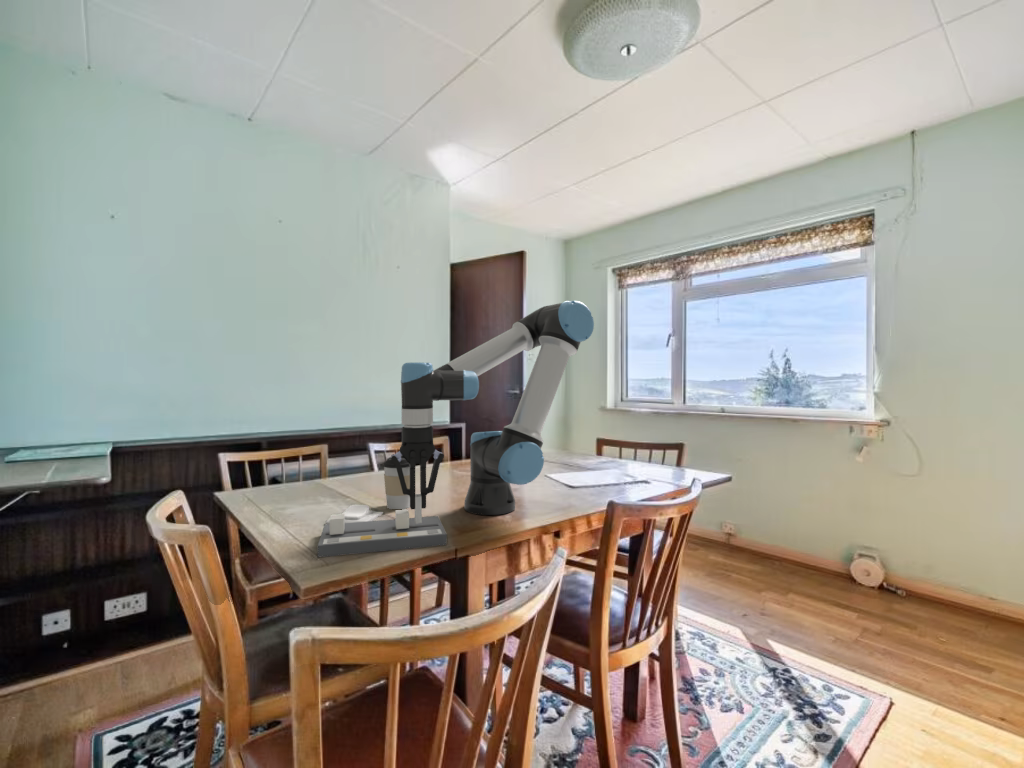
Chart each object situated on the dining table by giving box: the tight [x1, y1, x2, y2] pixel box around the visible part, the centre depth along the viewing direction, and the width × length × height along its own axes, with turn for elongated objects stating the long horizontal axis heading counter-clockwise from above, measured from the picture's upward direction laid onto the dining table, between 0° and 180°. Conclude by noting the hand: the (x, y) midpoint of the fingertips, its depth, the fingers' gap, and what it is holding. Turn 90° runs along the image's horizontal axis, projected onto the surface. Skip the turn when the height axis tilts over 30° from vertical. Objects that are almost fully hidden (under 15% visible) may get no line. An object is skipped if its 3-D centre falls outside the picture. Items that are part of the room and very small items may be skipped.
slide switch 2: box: [394, 508, 410, 529], centre depth 115 cm, size 3×4×4 cm
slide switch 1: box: [329, 513, 345, 535], centre depth 111 cm, size 3×4×4 cm
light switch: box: [325, 504, 384, 525], centre depth 130 cm, size 11×4×13 cm
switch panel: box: [317, 515, 448, 558], centre depth 114 cm, size 28×15×3 cm, turn 106°
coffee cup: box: [382, 455, 410, 510], centre depth 142 cm, size 9×9×15 cm
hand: (418, 521), depth 116 cm, fingers closed
